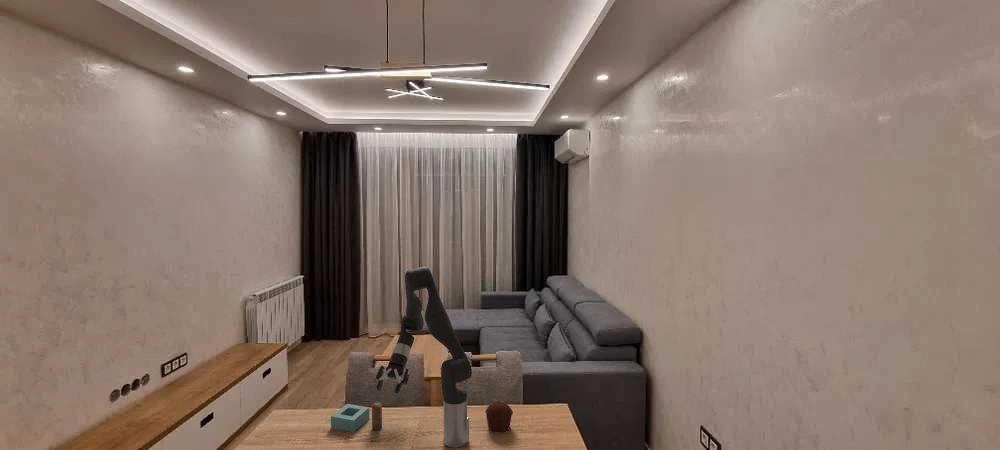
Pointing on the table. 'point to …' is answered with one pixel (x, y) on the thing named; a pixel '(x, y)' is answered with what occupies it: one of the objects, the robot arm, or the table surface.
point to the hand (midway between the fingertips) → (387, 391)
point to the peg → (376, 416)
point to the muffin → (498, 416)
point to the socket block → (350, 417)
